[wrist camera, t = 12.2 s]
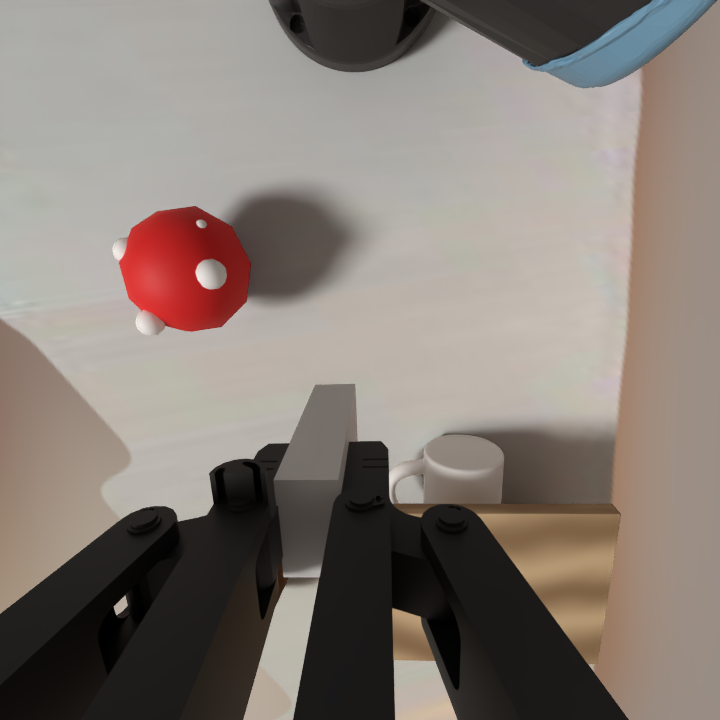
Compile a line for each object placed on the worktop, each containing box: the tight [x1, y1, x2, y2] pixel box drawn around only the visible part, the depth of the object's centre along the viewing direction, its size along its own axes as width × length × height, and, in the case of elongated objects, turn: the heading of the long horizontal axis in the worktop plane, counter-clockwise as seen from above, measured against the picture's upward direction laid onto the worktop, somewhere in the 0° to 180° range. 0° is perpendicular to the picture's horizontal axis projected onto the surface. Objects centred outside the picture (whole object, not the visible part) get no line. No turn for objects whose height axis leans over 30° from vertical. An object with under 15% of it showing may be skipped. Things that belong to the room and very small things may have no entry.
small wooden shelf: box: [392, 504, 621, 664], centre depth 45 cm, size 16×24×13 cm, turn 92°
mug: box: [389, 434, 504, 504], centre depth 46 cm, size 12×10×8 cm
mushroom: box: [112, 206, 251, 336], centre depth 39 cm, size 11×11×12 cm
